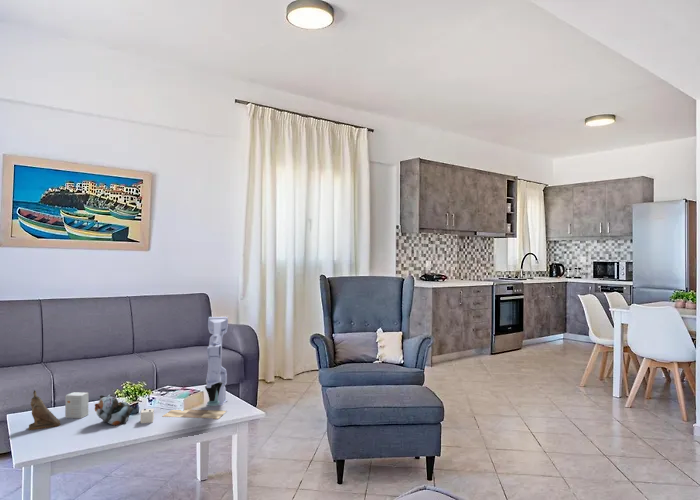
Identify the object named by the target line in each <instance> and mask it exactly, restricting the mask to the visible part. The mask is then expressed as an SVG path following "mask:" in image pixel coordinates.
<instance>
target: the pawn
mask: <svg viewBox="0 0 700 500" xmlns="http://www.w3.org/2000/svg"><path fill="white" fill-rule="evenodd" d="M208 400H209V399H208ZM206 404H207V405H206V406H209V407H214V406H216V405H219V404H220V401H218V391H217V390H216V395H215V400H214V401H210V400H209V401H207V403H206Z"/></svg>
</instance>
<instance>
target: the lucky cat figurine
mask: <svg viewBox="0 0 700 500" xmlns="http://www.w3.org/2000/svg"><path fill="white" fill-rule="evenodd" d="M133 410H134V407H131V405H130V404H129V403H127V402H126V401H119V400H118V399H117V398H116V397H114V396H113V395H112V394H111V393H110V394H108V395H107V396H106V395H99V399H98V402H97V403H94V411H95V412H96V416H97V417H98V418H99V419H101V420H102V422H105V423H108V424H110V425H112V426H120V425H123V424H125V423H127V421H128V420H129V418H130V415H131V414H132V413H133Z"/></svg>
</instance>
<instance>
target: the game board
mask: <svg viewBox="0 0 700 500" xmlns="http://www.w3.org/2000/svg"><path fill="white" fill-rule="evenodd" d="M186 409H187V410H184V411H181V410H172V409H171V410H169V411H168V412H167V413H165V414H164V415H162V417H163V418H164V417H165V418H187V419H189V418H193V419H195V418H196V419H212V420H219V419H221V418H222V416H224V415H225V414H226V413H227V412H226V411H227V410H217V409H216V410H215V409H214V410H213V409H188V408H186ZM225 412H226V413H225ZM224 413H225V414H224ZM223 414H224V415H223Z"/></svg>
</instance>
